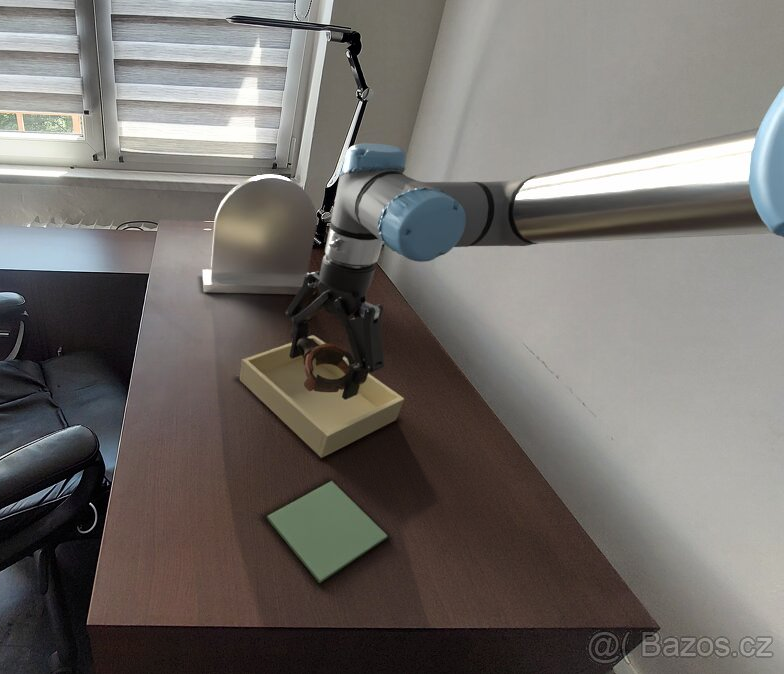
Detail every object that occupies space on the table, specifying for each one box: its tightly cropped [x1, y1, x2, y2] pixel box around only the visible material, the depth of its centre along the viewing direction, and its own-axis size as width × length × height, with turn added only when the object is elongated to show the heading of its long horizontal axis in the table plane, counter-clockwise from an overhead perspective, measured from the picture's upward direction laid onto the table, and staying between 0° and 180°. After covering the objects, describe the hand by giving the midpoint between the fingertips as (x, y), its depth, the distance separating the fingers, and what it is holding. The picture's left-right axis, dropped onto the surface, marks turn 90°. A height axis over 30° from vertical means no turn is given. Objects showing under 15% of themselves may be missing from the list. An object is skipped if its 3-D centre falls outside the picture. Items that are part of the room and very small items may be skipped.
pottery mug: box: [297, 336, 355, 392], centre depth 78 cm, size 12×10×8 cm
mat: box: [266, 480, 388, 584], centre depth 61 cm, size 10×12×1 cm
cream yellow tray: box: [239, 334, 405, 459], centre depth 81 cm, size 22×18×5 cm
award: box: [201, 174, 318, 296], centre depth 111 cm, size 28×9×28 cm, turn 91°
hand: (321, 374), depth 79 cm, fingers closed on pottery mug, 12 cm apart
